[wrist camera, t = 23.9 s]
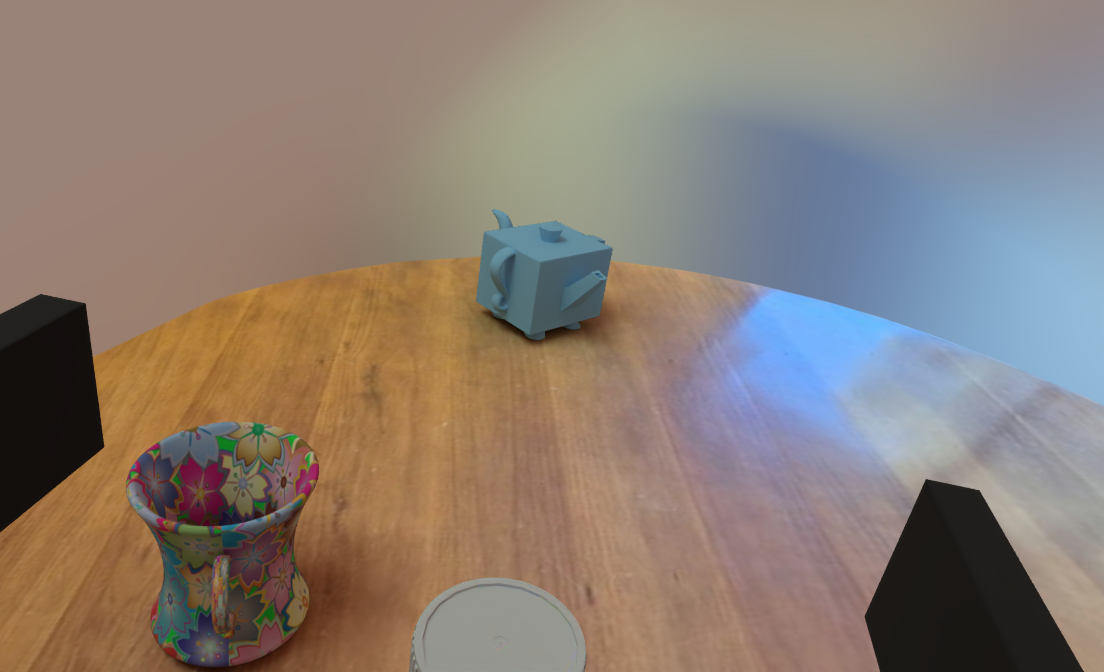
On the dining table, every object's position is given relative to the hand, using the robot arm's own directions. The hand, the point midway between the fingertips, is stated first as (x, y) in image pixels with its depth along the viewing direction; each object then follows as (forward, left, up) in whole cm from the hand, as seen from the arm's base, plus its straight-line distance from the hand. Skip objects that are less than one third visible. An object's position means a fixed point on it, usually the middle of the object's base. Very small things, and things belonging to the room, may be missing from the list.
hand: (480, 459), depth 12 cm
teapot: (-7, +70, -30) cm, 76 cm away
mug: (-16, +20, -30) cm, 39 cm away
